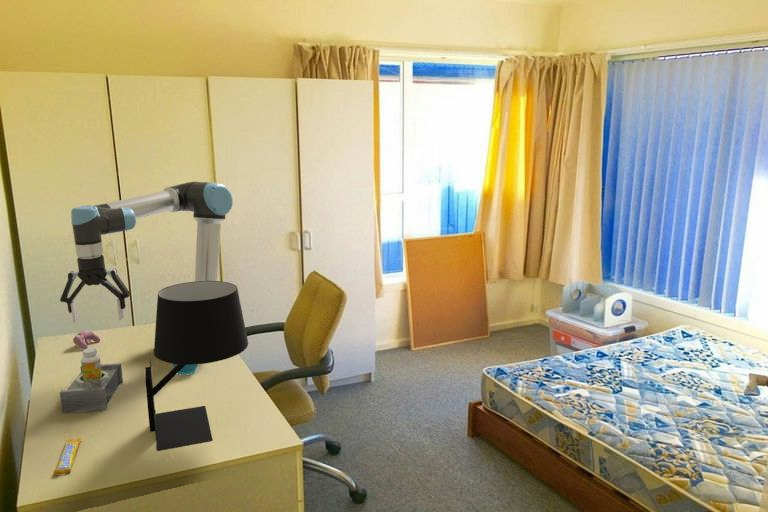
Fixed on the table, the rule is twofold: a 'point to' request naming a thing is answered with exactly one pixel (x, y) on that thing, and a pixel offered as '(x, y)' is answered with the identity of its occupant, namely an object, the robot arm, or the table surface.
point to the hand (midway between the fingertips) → (98, 320)
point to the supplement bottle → (91, 365)
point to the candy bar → (68, 456)
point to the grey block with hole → (92, 391)
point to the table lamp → (192, 350)
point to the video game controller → (87, 336)
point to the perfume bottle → (187, 369)
